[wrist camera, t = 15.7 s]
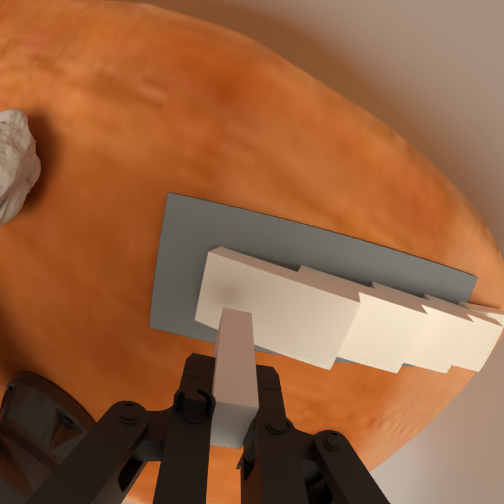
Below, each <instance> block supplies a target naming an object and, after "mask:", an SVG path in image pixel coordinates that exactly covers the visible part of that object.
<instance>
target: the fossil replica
mask: <svg viewBox="0 0 504 504" xmlns="http://www.w3.org/2000/svg"><path fill="white" fill-rule="evenodd" d="M40 173H41V163H40V160H39V158H38V156H37V155H36V140H35V139H34V138H33V136H32V135H31V132H30V131H29V127H28V117H27V116H26V114H25V112H24V111H22V110H20V109H15V108H12V109H10V110H9V109H8V110H5V111H3V112H1V113H0V226H1V225H3V224H5V223H7V222H9V221H10V220H12V219H13V218H14V217H15V216H16V215H17V214H18V213H19V212H20V210H21V208H22V206H23V203H24V201H25V199H26V195H27V194H28V193H29V192H30V189H31V187H33V186H34V184H35V182H36V181H37V180H38V178H39V176H40Z"/></svg>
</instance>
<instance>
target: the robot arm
mask: <svg viewBox="0 0 504 504" xmlns="http://www.w3.org/2000/svg"><path fill="white" fill-rule="evenodd" d="M210 445H214V446H220V447H227V448H235V449H241V447H242V445H243V447H244V452H243V454H242V456H241V458H240V460H239V462H238V464H237V468H236V469H239V468H240V467H241V504H390V503H389V501H388V500H387V499H386V497H385V495H384V494H383V493H382V491H381V490H380V488H379V487H378V485H377V484H376V482H375V481H374V479H373V478H372V476H371V475H370V473H369V472H368V470H367V469H366V467H365V466H364V464H363V463H362V461H361V460H360V458H359V457H358V455H357V454H356V452H355V451H354V449H353V448H352V446H351V445H350V443H349V441H348V440H347V439H346V438H345V437H344V435H342V434H341V433H339V432H337V431H333V430H324V431H321V432H319V433H318V435H317V436H315V435H312V434H308V433H305V432H302V431H299V430H297V429H296V428H294V426H293V424H292V422H291V421H290V420H289V419H288V418H286V414H285V408H284V402H283V397H282V392H281V385H280V380H279V375H278V373H277V372H276V371H275V369H274V368H273V367H270V366H263V365H257V364H256V363H255V350H254V337H253V324H252V313H249V312H244V311H239V310H234V309H229V308H225V307H223V310H222V314H221V319H220V323H219V327H218V332H217V336H216V340H215V345H214V349H213V356H212V357H209V356H205V355H200V354H196V353H192V354H191V355H190V356H189V357H188V358H187V359H186V363H185V367H184V371H183V375H182V379H181V383H180V387H179V389H178V390H177V391H176V393H175V395H174V402H173V406H172V407H170V408H168V409H166V410H163V411H146V410H145V408H144V407H142V406H141V405H140V404H138V403H135V402H132V401H121V402H117V403H115V404H114V405H113V406H111V407H110V408H109V410H108V411H107V412H106V413H105V414H104V415H103V416H102V417H101V419H100V420H99V421H98V422H97V423H96V424H95V422H94V421H93V419H92V418H91V417H90V416H89V414H88V413H87V412H86V411H85V410H84V409H83V408H82V407H81V406H80V405H79V404H78V403H77V402H76V401H75V400H74V399H72V398H71V397H70V396H69V395H68V394H66V393H65V392H64V391H62V390H61V389H60V388H58V387H57V386H55V385H54V384H52V383H51V382H49V381H47V380H46V379H44V378H42V377H40V376H38V375H35V374H33V373H29V372H18V373H17V374H15V375H14V377H13V378H12V379H11V380H10V381H9V383H8V384H7V387H6V390H5V393H4V397H3V400H2V404H1V407H0V504H121V503H122V501H123V499H124V498H125V497H126V495H127V494H128V492H129V490H130V489H131V487H132V486H133V484H134V483H135V481H136V479H137V478H138V476H139V475H140V473H141V471H142V470H143V468H144V467H145V465H146V464H147V462H148V461H161V464H160V469H159V474H158V479H157V484H156V489H155V494H154V499H153V504H206V491H207V476H208V463H209V450H210Z"/></svg>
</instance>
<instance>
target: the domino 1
mask: <svg viewBox="0 0 504 504" xmlns="http://www.w3.org/2000/svg"><path fill="white" fill-rule="evenodd" d="M360 303H361V302H360V297H359V292H357V291H354V290H351V289H347V288H344V287H341V286H338V285H335V284H332V283H329V282H326V281H323V280H320V279H317V278H314V277H311V276H308V275H305V274H302V273H299V272H296V271H293V270H290V269H287V268H284V267H281V266H278V265H275V264H272V263H269V262H266V261H263V260H260V259H257V258H254V257H251V256H248V255H245V254H242V253H239V252H236V251H233V250H230V249H227V248H224V247H221V246H220V247H218V248H215V249H213V250H211V251H209V252H208V256H207V261H206V265H205V270H204V275H203V280H202V285H201V290H200V295H199V300H198V305H197V311H196V316H195V320H196V321H198V322H200V323H202V324H205V325H207V326H210V327H212V328H214V329H217V330H218V327H219V323H220V319H221V314H222V310H223V307H225V308H229V309H234V310H239V311H244V312H249V313H252V324H253V337H254V344H255V345H257V346H260V347H263V348H265V349H268V350H271V351H274V352H276V353H279V354H282V355H285V356H288V357H291V358H294V359H297V360H300V361H303V362H306V363H309V364H312V365H315V366H318V367H321V368H324V369H328V370H330V369H331V367H332V365H333V363H334V361H335V359H336V357H337V355H338V353H339V351H340V349H341V347H342V344H343V342H344V340H345V338H346V336H347V334H348V331H349V329H350V327H351V325H352V322H353V320H354V318H355V315H356V313H357V311H358V308H359V306H360Z"/></svg>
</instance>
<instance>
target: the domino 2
mask: <svg viewBox="0 0 504 504" xmlns="http://www.w3.org/2000/svg"><path fill="white" fill-rule="evenodd" d="M298 272H299V273H302V274H305V275H308V276H311V277H314V278H317V279H320V280H323V281H326V282H329V283H332V284H335V285H338V286H341V287H344V288H347V289H351V290H354V291H357V292H359V297H360V302H361V303H360V306H359V308H358V311H357V313H356V315H355V318H354V320H353V322H352V325H351V327H350V329H349V331H348V334H347V336H346V338H345V340H344V342H343V344H342V347H341V349H340V351H339V353H338V355H337V357H340V358H343V359H347V360H350V361H353V362H357V363H360V364H364V365H368V366H371V367H375V368H379V369H382V370H386V371H390V372H394V373H398V371H399V369H400V368H401V366H402V364H403V363H404V361H405V359H406V357H407V355H408V354H409V352H410V350H411V348H412V346H413V344H414V343H415V341H416V339H417V337H418V335H419V333H420V331H421V329H422V327H423V325H424V323H425V321H426V319H427V316H428V314H427V312H426V311H425V309H424V308H423V306H422V305H421V304H418V303H415V302H412V301H409V300H406V299H403V298H400V297H397V296H394V295H391V294H388V293H385V292H382V291H379V290H376V289H373V288H370V287H367V286H364V285H361V284H358V283H355V282H352V281H349V280H346V279H343V278H340V277H337V276H334V275H330V274H327V273H324V272H321V271H318V270H315V269H312V268H309V267H306V266H303V265H301V267H300V269H299V271H298Z"/></svg>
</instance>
